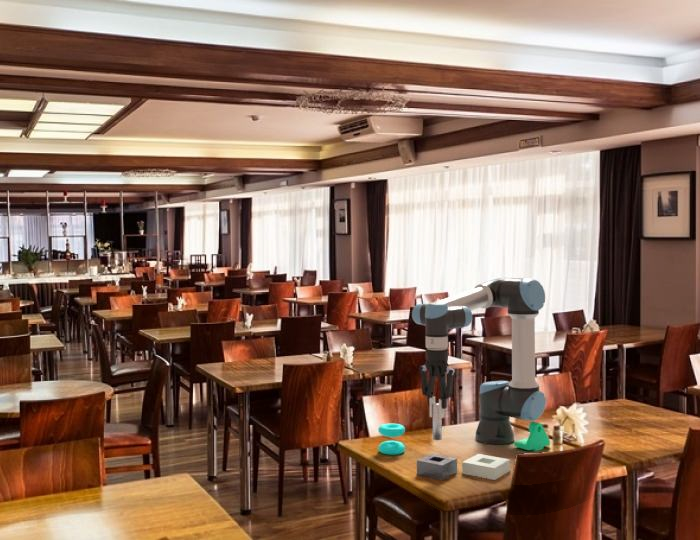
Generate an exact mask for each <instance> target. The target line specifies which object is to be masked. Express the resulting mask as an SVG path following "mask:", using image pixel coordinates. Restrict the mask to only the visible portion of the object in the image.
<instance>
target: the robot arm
mask: <svg viewBox="0 0 700 540" xmlns="http://www.w3.org/2000/svg"><path fill="white" fill-rule="evenodd" d="M545 302H546V292H545V289H544V286H543V285H542V284H541V282H540V281H539V280H537V279H533V278H528V277H523V278H522V277H517V278H516V277H499V278H495V279H492V280H488V281H485V282H481V283H479V284H477V285H475V286H474V288H472V289H469V290H466V291H464V292H460V293H458V294H455V295H452V296H449V297H446V298H443V299H441V300H437V301H434V302H428V303H417V304H416V305H415V306H414V307H412V308H413V309H412V311H411V316H412V320H413V321H414V323H415V324H417V325H421V326H424V327H425V348H426V349H425V364H423V365H420V366H419V367H418V371H419V373H420V381H421V382H420V383H421V394H422V396H425V397H426V398H427V407H428V408H429V418H433V404H434V403H436V396H435V394H434V393H435V384H436V378H437V380H438V381H437V382H438V385H439V386H438V388H439V394H440V397H439V399H438V403H439V419H442V420H443V419H444V418H446V409H447V407H448V399H449V398H452V397H453V390H454V389H453V387H454V377H455V374H456V369H455V368H452V367H450V365H449V362H448V360H449V350H448V347H449V343H448V342H449V337H448V336H449V335H448V334H449V333H448V331H449V330H453V329H463V328H466V327H468V326H470V324H472V321H473V313H472V311H475V310H476V309H488V308H492V307H493V308H496V307H497V308H504V309H505V308H507V315H508V316H509V317H510V318H511V376H512V377H511V378H512V379H511V380H510V381H508V380H492V381H486V382H483V383H481V384H480V387H479V393H478V394H479V422H478V424H477V427H476V431H475V440H476V441H478V442H479V443H484V444H489V445H490V444H491V445H505V444H511V443H513V442H515V434H514V430H513V427H512V424H511V418H513V419H519V420H522V421H528V422H529V421H530V422H536V421H537V420H538V419H539V418H541V416H542V415H543V414H544V412H545V410H546V409H545V408H546V404H547V399H546V395H545V393H544V392H543V391H541V390H540V384H539V383H538V382H537V381H536V326H535V324H536V321H535V320H536V317H537V316H538V315H539V314H540V313H539V311H540V310H542V308H544V306H545Z"/></svg>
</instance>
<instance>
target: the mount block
mask: <svg viewBox="0 0 700 540" xmlns="http://www.w3.org/2000/svg"><path fill="white" fill-rule="evenodd" d="M457 473H458V458H457V457H453V456H449V455H443V454H436V453H432V452H431V453H429V454H427V455H425V456H423V457H421V458H419V459H416V476H420V477H425V478H429V479H430V478H431V479H435V480H439V481H444V480H446V479H448V478H450V477H452V476H453V475H456V474H457Z"/></svg>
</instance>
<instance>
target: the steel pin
mask: <svg viewBox="0 0 700 540" xmlns="http://www.w3.org/2000/svg"><path fill="white" fill-rule="evenodd" d="M442 421H443V418H442V419H439V402H435V403H434V404H433V417H432V440H434V441H441V440H442V439H443V430H442V429H443V423H442Z"/></svg>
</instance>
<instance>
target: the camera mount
mask: <svg viewBox="0 0 700 540" xmlns="http://www.w3.org/2000/svg"><path fill="white" fill-rule="evenodd" d="M528 432H529V435H528V438H524V439H519V440H514V441H513V442H514V443H513V444H514V445H513V446H514V447H516V448H519V449H523V450H526V451H533V450H534V452H537V451H541V450H544V447H547V446H550V445H551V444H550V443H551V441H550V439H549V436H548V434H547V432H546V430H545V428H544V425H543V424H542V423H539V422H536V421H530V423H529V425H528Z"/></svg>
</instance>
